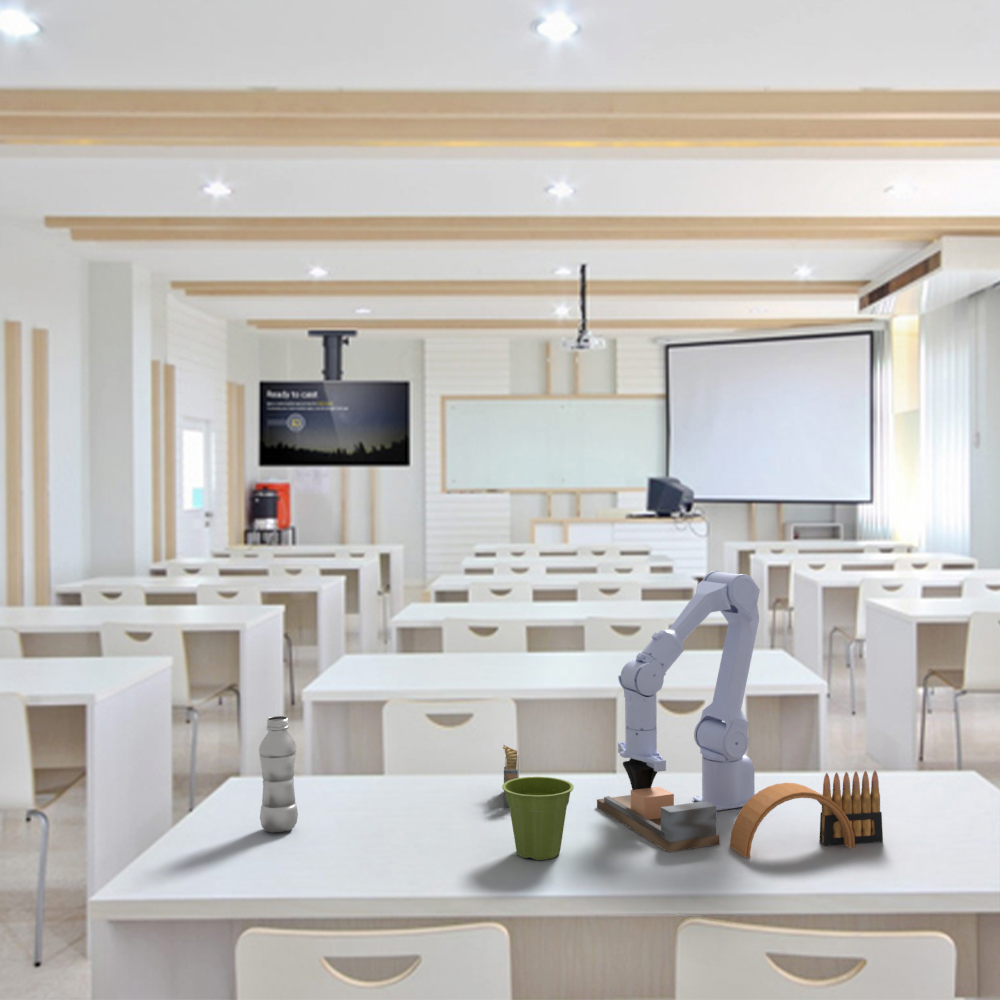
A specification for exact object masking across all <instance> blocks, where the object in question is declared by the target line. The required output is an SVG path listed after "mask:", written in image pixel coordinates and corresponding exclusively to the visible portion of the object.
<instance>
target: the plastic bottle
mask: <svg viewBox="0 0 1000 1000" xmlns="http://www.w3.org/2000/svg"><path fill="white" fill-rule="evenodd" d="M288 729H290V725H289V717H288V716H286V715H277V716H270V717H267V720H266V731H267V733H266V735H265V736H264V737H263V739H262V741H261V742H260V745H259V748H258V753H259V760H260V766H261V773H262V797H261V799H262V800H261V805H260V807H261V808H260V814H259V820H260V825H261V827H262V828H263V830H264V831H265V832H269V833H282V832H283V833H284V832H287V831H291V830H292V829H294V828H295V827H296V825H297V822H298V818H299V813H298V806H297V802H296V795H295V793H296V792H295V786H294V785H295V784H294V783H295V782H294V781H295V779H294V777H295V763H296V755H297V744H296V742H295V740H294V738H293V736H292V735H291V734H290V733H289V731H288Z"/></svg>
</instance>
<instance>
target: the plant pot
mask: <svg viewBox="0 0 1000 1000" xmlns="http://www.w3.org/2000/svg"><path fill="white" fill-rule="evenodd" d="M574 786H575V785H574V784H573V783H572V782H570V781H569V780H565V779H562V778H558V777H557V778H556V777H550V776H522V777H519V778H516V779H512V780H509V781H507V782H505V783H504V782H503V783H502V786H501V788H502V790H503V792H504V791H505V792H506V797H507V802H508V804H509V808H508V809H509V813H510V814H509V815H510V818H511V824H512V825H511V826H512V831H513V839H514V844H515V850H516V853H517V855H518V856H520V857H521V858H524V859H528V858H532V859H534V860H538V861H544V860H547V859H548V860H550V859H554V858H555V857H557V856H558V854H560V853H561V847H562V841H563V834H564V828H565V827H564V826H565V821H566V814H567V807H568V805H569V802H570V796H571V792H572V791H573V790H574Z"/></svg>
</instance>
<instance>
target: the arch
mask: <svg viewBox="0 0 1000 1000" xmlns="http://www.w3.org/2000/svg"><path fill="white" fill-rule="evenodd" d="M796 799H812V800H814V801H817V802H818V803H819V804H820V805H821V806H822V803H823V804H825V805H826V806H827V807H828V808H829V809H830V810H831V811H832V814H833V815H835V816H836V817H837V819H838V821H839V824H840V826H841V831H842V837H843V838H844V845H843V846H845V847H848V849H849V848H850V849H851V848H856V844H855V838H854V834H853V829H852V826H851V824H850V822H849V819H848V818H847V816H846V815H845V813H844V812H843V810H842V809H841V808H840V807H839V806H838V805H837V804H836V803H834V802H833V801H832V800H830V799H829V798H827V797H825V796H823V794H821V793H819V792H817V791H816V790H814V789H812V788H810V787H808V786H805V785H803V784H799V783H796V782H795V783H793V782H781V783H776V784H772V785H769V786H766V787H765V788H763V789H761V790H759V791H758V792H756V793H755V795H754V796H753V797H751V798H750V799H749V801H748V802H747V803H746V804H745V805H744V806H743V807H741V809H740V811H739V812H738V814H737V816H736V817H735V820H734V823H733V826H732V830H731V833H730V840H729V846H730V847H731V848H732V849H733V850H734V851H736V852H737V853H738V854H740V856H742V857H744V858H745V859H747V858H751V850H752V844H753V839H754V837H755V834H756V832H757V829H758V828H759V826H760V824H761V822H762V821H763V820H764V818H765V817H766V816H767V815H768V814H769V813H771V812H772V811H773V810H774V809H775V808H777V806H780V805H781V804H784V803H785V802H789V801H792V800H796Z"/></svg>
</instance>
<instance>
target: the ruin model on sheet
mask: <svg viewBox="0 0 1000 1000" xmlns="http://www.w3.org/2000/svg"><path fill="white" fill-rule="evenodd" d="M502 749H503V750H504V754H505V757H504V758H505V760H504V767H503V784H504V783H505V782H507V781H509V780H512V779H516V778H520V772H519V771H520V755H519V754H518V750H516V749H514V748H510V747H509V746H507V745H505V744H503V747H502ZM503 809H510V808H509V804H508V802H507V797H506V792H505V791H504V790H503Z"/></svg>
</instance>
